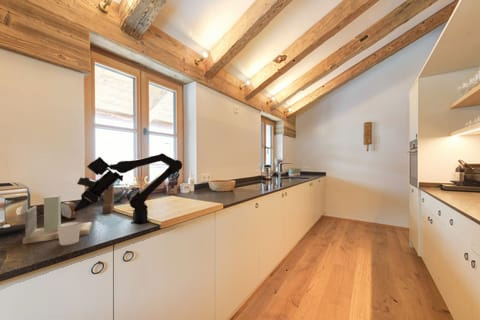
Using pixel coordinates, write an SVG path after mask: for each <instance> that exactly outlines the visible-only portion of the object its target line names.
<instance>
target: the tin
mask: <svg viewBox="0 0 480 320" xmlns="http://www.w3.org/2000/svg"><path fill="white" fill-rule="evenodd" d="M76 206H77V204H76V203H74V202H72V201H69V200H67V201H62V202H61V215H62V217H63V218H66V219H69V220H72V219H76V218H77V216H78V211H76V212H75V211H74V209H75V207H76Z"/></svg>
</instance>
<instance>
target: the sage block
mask: <svg viewBox="0 0 480 320" xmlns="http://www.w3.org/2000/svg"><path fill="white" fill-rule="evenodd" d="M61 201H62V199H61V194H60V195H50V196H49V195H47V196H45V197H43V228H44V232H50V231H57V230H58V227H57V226H58V225H60V224H62V218H61V217H62V216H61V215H62V213H61V203H62V202H61Z"/></svg>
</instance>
